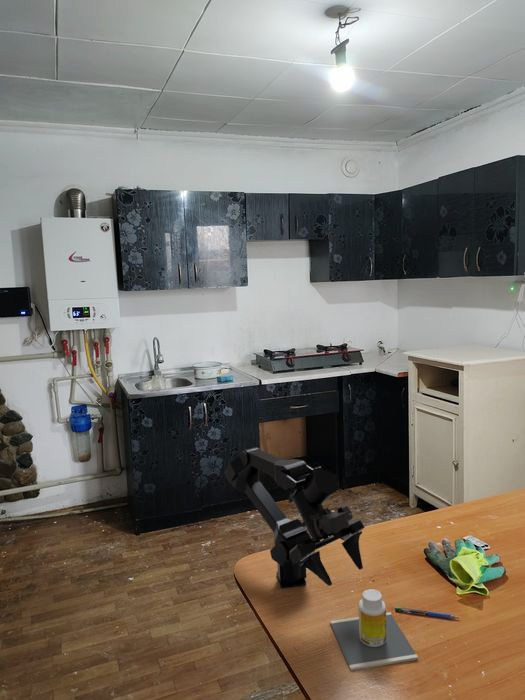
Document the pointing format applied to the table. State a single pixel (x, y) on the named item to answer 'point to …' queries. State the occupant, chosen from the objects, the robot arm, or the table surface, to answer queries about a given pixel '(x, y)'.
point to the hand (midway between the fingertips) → (346, 577)
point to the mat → (367, 656)
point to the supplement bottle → (372, 619)
